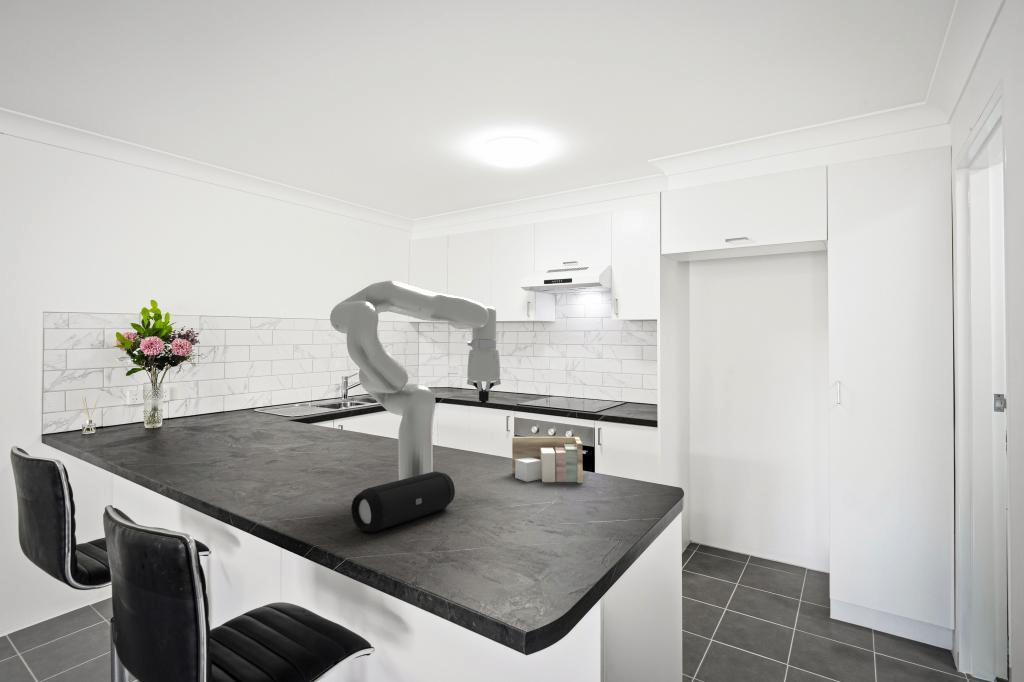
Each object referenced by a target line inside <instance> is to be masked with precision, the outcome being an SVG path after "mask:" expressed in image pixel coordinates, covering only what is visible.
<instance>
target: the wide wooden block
mask: <svg viewBox="0 0 1024 682" xmlns="http://www.w3.org/2000/svg"><path fill="white" fill-rule="evenodd" d="M511 438H512V439H511V440H512V442H511V443H512V444H511V445H512V446H511V447H512V449H511V451H512V455H511V456H512V459H511V460H512V461H511V462H512V468H511V469H512V475H515V459H521V458H527V457H532V458H535V459H539V460H541V449H540V448H542V447H553V449H554V451H555V483H578V484H583V481H584V480H583V479H584V477H583V475H584V474H583V469H584V468H583V442H582V441H581V439H580V436H512V437H511Z"/></svg>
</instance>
